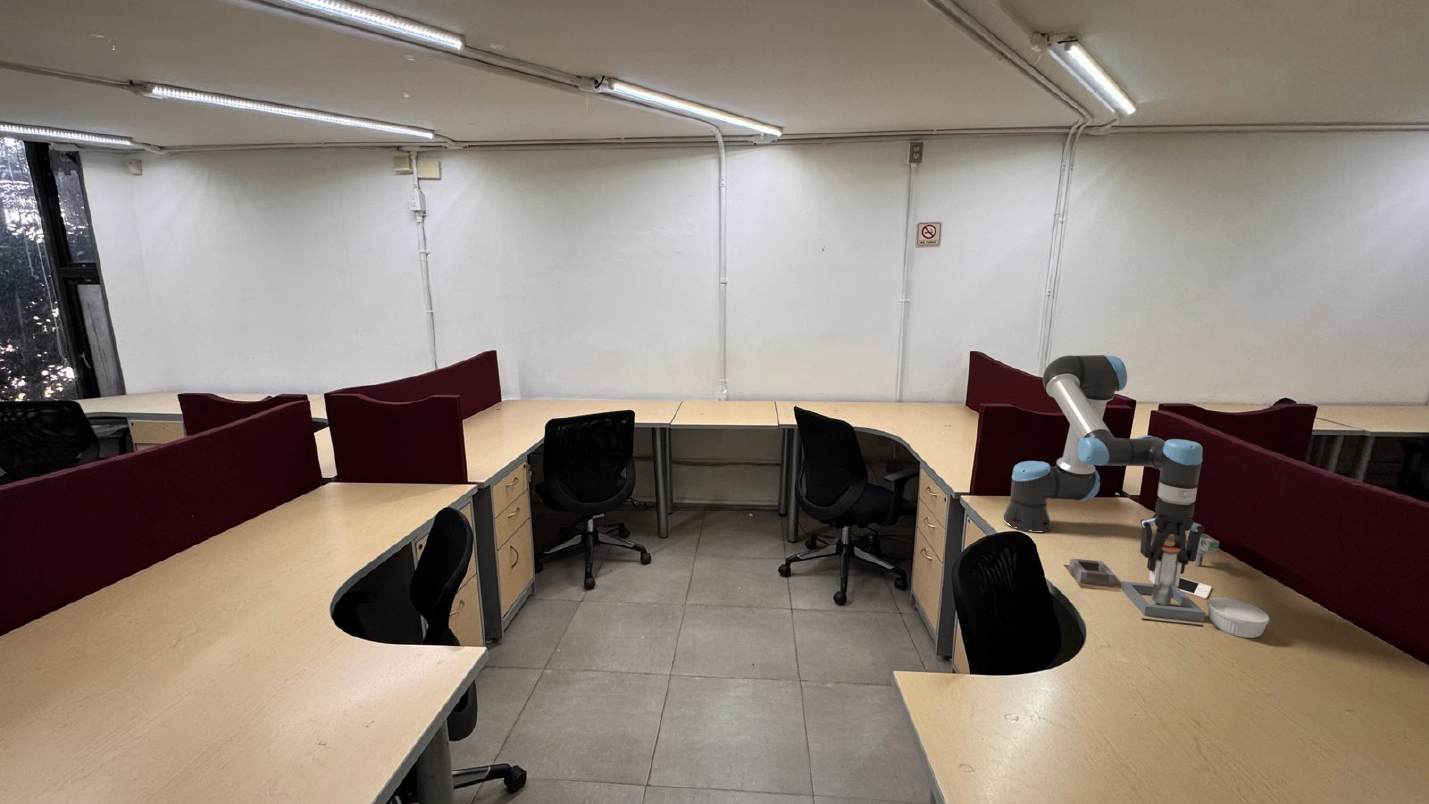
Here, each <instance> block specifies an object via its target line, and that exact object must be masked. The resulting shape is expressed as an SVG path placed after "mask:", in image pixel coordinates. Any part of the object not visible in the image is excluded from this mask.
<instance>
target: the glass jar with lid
mask: <svg viewBox="0 0 1429 804" xmlns="http://www.w3.org/2000/svg"><path fill="white" fill-rule="evenodd" d="M1180 552H1181V548H1180V547H1178V546H1177V545H1176V544H1175V542H1172V541H1167V540H1165V543H1164V545H1163V547H1162V548H1161V552H1160V555H1159V557H1158V560H1159V561H1160V562H1161V564H1160V571H1159V578H1158V585H1157V584H1153V583H1152V584H1153V590H1152V595H1151V598H1150V599H1151V600H1152V601H1153V602H1154V603H1155V604H1156V603H1157V604H1158V605H1163V606H1171V602H1172V590H1173V584H1174V577H1175V570H1176V564H1177V557H1178V553H1180Z"/></svg>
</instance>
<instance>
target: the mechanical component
mask: <svg viewBox="0 0 1429 804" xmlns="http://www.w3.org/2000/svg"><path fill="white" fill-rule="evenodd" d="M1186 531H1187V533H1186V541H1187V542H1188V537H1189V532H1190V528H1189V529H1188V530H1186ZM1219 547H1220V541H1219V540H1216V539H1215V538H1213V537H1211V536H1210V535H1208V534H1205V533H1202V534H1201V537H1200V541H1199V546H1198V551H1197V556H1196V560H1195V561H1194V566H1196V567H1199V566H1201V567H1203V566H1202V565H1203V560H1204V554H1207V552H1208V553H1217V552H1218V550H1219Z"/></svg>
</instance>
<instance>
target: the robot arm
mask: <svg viewBox="0 0 1429 804" xmlns="http://www.w3.org/2000/svg"><path fill="white" fill-rule="evenodd" d="M1042 375H1043V376H1042V385H1043V388H1044V390H1045V391H1046V393H1047V395H1048V396H1049V397H1051V398H1052V399H1053V398H1054V400H1055V402H1056V403H1057V404H1058V406H1059V407H1060V409H1061V412H1062V413H1063V414H1064V416H1065V417H1066V419H1067V421H1068V422H1069V428H1068V433H1067V437H1066V442H1065V445H1064V450H1063V455H1062V457H1060V458H1058V459H1057V460H1056V464H1055V466H1051V465H1050V464H1049V463H1048V462H1045V461H1038V460H1027V461H1021V462H1019V463H1017V464H1015V465H1014V467H1013V469H1012V475H1011V487H1010V501H1009V503H1008V506H1007V507H1006V509H1005V512H1004V513H1003V518H1004V520H1005V521H1006V522H1007V523H1009V524H1010V525H1011V526H1012V527H1017V528H1013V529H1015V530H1017V531H1021V532H1026V533H1027V531H1029V530H1032V531H1046V530H1048V529H1049V528H1050V529H1051V519H1050V515H1049V512H1048V508H1047V506H1048V505H1047V504H1048V500H1066V501H1067V500H1069V501H1070V500H1071V501H1072V500H1073V501H1089V500H1091V499H1094V497H1095V496H1096V495H1097V494H1098V493H1099V490H1100V485H1101V481H1100V480H1101V478H1100V474H1099V472H1098V470H1097V469H1096V466H1100V467H1101V466H1119V467H1121V466H1126V467H1150V468H1151V467H1152V468H1154V469H1156V470H1158V471H1160V473H1159V479H1158V480H1159V481H1158V488H1157V496H1158V497H1157V498H1156V501H1155V507H1154V509H1155V510H1154V511H1155V512H1154V515H1153V516H1152V518H1150V519H1142V518H1141V519H1140V522H1139V523H1140V525H1141V538H1140V541H1141V542H1140V549H1139V551H1140V554H1141V555H1142V556H1143V557H1145V558H1147V564H1146V568H1147V569H1148V570H1149V578H1148V580H1149V581H1150V582H1151V584H1157V585H1158V578H1159V571H1160V564H1161V562H1160V561H1159V560H1158V557H1159V555H1160V552H1161V548H1162V547H1163V545H1164V543H1165V541H1167V539H1168V538H1169V537H1170V535H1173V537H1174V543H1175V544H1176V545H1177V546H1178V547H1180V548H1181V552H1180V553H1178V557H1177V564H1176V570H1175V577H1174V584H1173V585H1174V586H1178V585H1179V579H1180V578H1181V575H1184V573H1185V569H1186V566H1187V565H1189V562H1194V563H1195V561H1196V556H1197V551H1198V546H1199V541H1200V537H1201V534H1204V532H1205V530H1206V528H1205V527H1204V526H1203V525H1202V524H1200V523H1198V522H1194V520H1193V517H1194V513H1195V502H1196V497H1197V491H1198V484H1199V478H1200V474H1201V469H1202V463H1203V446H1202V445H1201V444H1200V443H1199V442H1197V441H1192V440H1187V439H1178V438H1177V439H1176V438H1174V439H1173V438H1172V439H1168V440H1166V441H1165V440H1163V439H1162V438H1159V437H1156V436H1152V435H1141V436H1138V437H1136V438H1124V437H1123V438H1121V437H1120V438H1117V437H1114V435H1113V434H1112V433H1111V431H1110V430H1109V429H1110V428H1108V426H1107V425H1106V423H1105V422H1104V421H1103V420H1104V419H1103V418H1104V414H1105V410H1106V407H1107V403H1108V402H1109V401H1112V400H1114V397H1115V395H1116V394H1115V393H1116V392H1120V391H1123V390H1124V389H1125V388H1126V386H1127V382H1128V373H1127V368H1126V365H1125V363H1124V361H1123V360H1122V359H1121V358H1120V357H1118V356H1116V355H1105V354H1097V355H1096V354H1094V355H1089V354H1087V355H1086V354H1085V355H1083V354H1082V355H1072V354H1071V355H1069V354H1068V355H1064V356H1060V357H1058V358H1056V359H1054V360H1052V361H1051V362H1050V363H1049V364H1048V365H1047V367H1046V368H1045V370H1044V373H1043V374H1042ZM1154 525H1155V526H1156V527H1157V528H1156V529H1155V536H1154V538H1153V529H1154ZM1012 527H1011V528H1012ZM1189 529H1190V532H1189V537H1188V541H1187V544H1186V540H1187V534H1186V531H1188V530H1189ZM1048 531H1049V530H1048ZM1046 532H1047V531H1046ZM1152 540H1153V541H1152Z"/></svg>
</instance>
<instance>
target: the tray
mask: <svg viewBox="0 0 1429 804" xmlns="http://www.w3.org/2000/svg"><path fill="white" fill-rule="evenodd" d="M1120 586H1121V587H1120V591H1121V592H1123V594H1125V596H1126V597H1127V598H1128V599H1129V600H1130V601H1131V602H1132V603H1133V604H1134V606H1135V607H1136V608H1137V609H1138V610H1139V611H1140V613H1141V614H1142V615H1143V616H1144V617H1145V616H1146V617H1154V618H1155V617H1156V618H1165V619H1166V618H1167V619H1173V620H1174V619H1176V620H1182V621H1192V622H1201V623H1203V622H1205V617H1206V612H1205V611H1204V609H1202V608H1200V606H1199V605H1197V604H1196V603H1195V602H1194V601H1193V600H1192V599H1191V598H1190V597H1188V596H1187V595H1186V593H1183V592H1182V591H1181V590H1180V589H1179V588H1178V587H1177V586H1173V590H1172V597H1171V599H1172V598H1173V600H1174V601H1175V602H1176V603H1177V604H1178V605H1179V606H1171V605H1163V604H1153V603H1152V604H1150V603H1149V602H1148V601H1147V600H1146V599H1145V597H1143V596H1142V595H1148V596H1149V595H1150V596H1152V590H1153V583H1145V582H1136V581H1121V585H1120ZM1144 617H1142V618H1141V619H1142V620H1143V621H1146V622H1152V623H1153V622H1155V623H1163V624H1164V623H1166V624H1172V625H1181V626H1182V625H1183V626H1189V627H1191V626H1192V627H1201V628H1203V627H1204V624H1198V623H1190V622H1180V621H1173V620H1172V621H1170V620H1163V619H1162V620H1161V619H1154V618H1153V619H1151V618H1146V617H1145V618H1144Z"/></svg>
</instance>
